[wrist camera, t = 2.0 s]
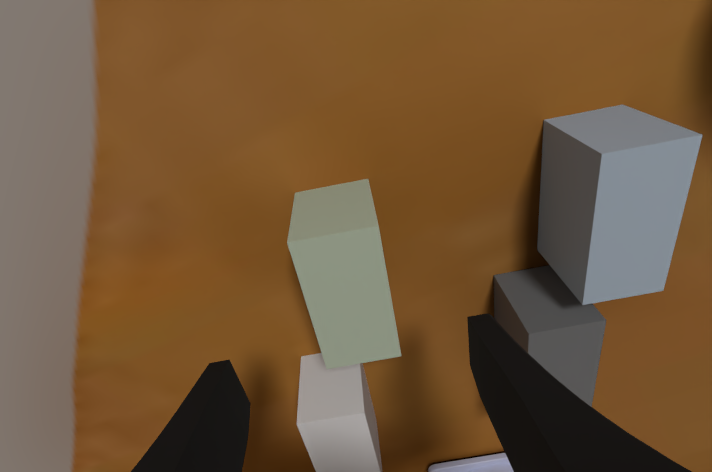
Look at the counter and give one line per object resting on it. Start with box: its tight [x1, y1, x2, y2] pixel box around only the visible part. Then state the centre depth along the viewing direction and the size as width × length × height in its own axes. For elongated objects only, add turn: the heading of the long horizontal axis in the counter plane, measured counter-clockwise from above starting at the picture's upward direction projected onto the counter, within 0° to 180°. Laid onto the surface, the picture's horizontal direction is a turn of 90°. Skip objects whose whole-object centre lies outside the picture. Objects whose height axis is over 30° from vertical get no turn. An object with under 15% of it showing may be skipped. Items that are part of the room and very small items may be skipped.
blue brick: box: [537, 105, 702, 305], centre depth 16 cm, size 6×3×4 cm, turn 10°
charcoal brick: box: [494, 265, 606, 406], centre depth 19 cm, size 6×3×4 cm, turn 10°
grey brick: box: [297, 353, 383, 472], centre depth 21 cm, size 6×3×4 cm, turn 10°
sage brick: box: [287, 179, 401, 369], centre depth 17 cm, size 6×3×4 cm, turn 10°
